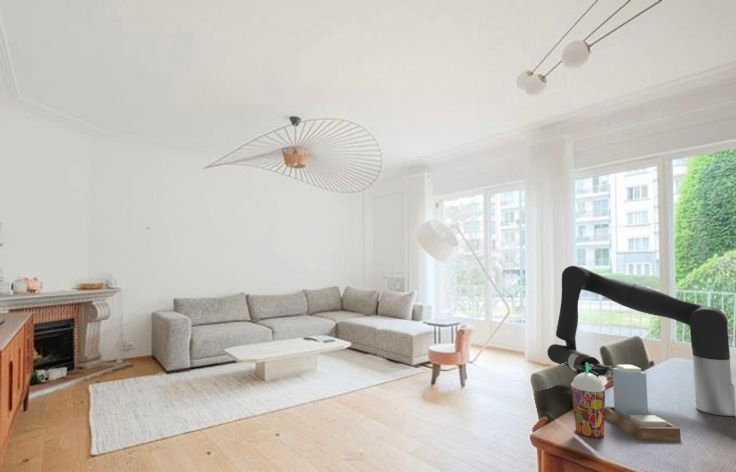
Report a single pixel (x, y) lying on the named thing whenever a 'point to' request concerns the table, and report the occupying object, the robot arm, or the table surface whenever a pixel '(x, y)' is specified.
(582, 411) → the smoothie
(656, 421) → the off-white rectangular block
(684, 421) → the table surface
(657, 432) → the crate
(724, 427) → the table surface
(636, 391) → the carton
